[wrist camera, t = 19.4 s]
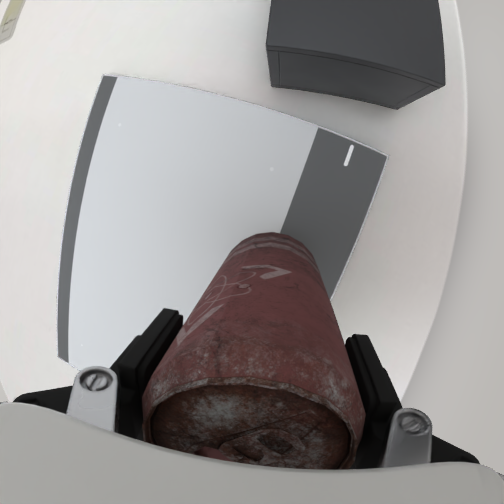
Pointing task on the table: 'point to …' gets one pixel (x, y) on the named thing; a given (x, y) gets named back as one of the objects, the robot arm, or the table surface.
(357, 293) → the table surface
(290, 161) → the white grey flat panel
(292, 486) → the robot arm
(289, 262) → the can
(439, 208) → the table surface
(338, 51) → the dark grey cabinet
